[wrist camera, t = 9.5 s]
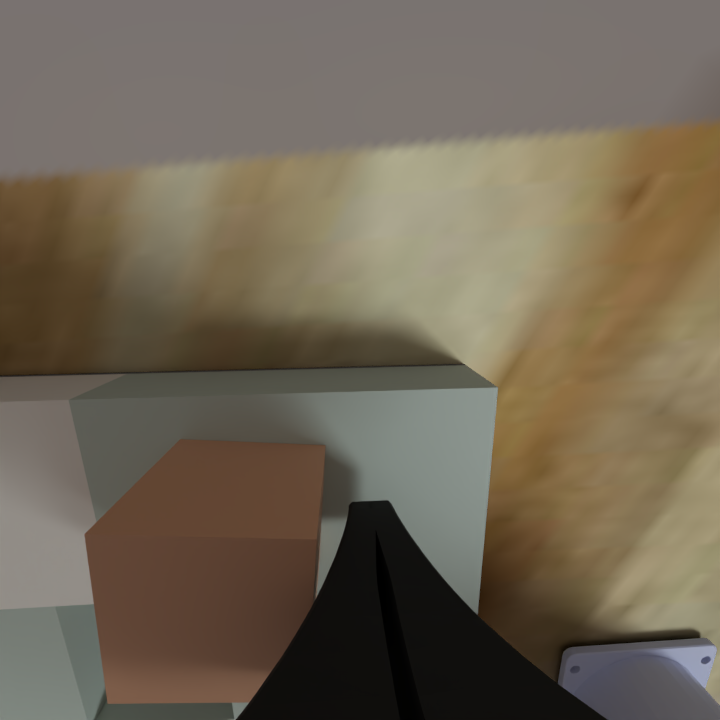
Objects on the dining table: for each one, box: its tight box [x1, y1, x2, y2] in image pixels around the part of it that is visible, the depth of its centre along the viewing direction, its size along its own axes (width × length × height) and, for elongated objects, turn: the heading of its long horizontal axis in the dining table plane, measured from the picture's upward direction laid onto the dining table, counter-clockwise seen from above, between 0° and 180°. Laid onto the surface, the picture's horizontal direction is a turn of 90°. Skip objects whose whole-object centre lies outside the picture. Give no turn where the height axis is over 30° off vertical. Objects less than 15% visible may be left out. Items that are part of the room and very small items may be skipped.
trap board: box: [0, 364, 498, 720], centre depth 13 cm, size 15×23×3 cm, turn 91°
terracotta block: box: [84, 439, 326, 704], centre depth 9 cm, size 4×4×4 cm
